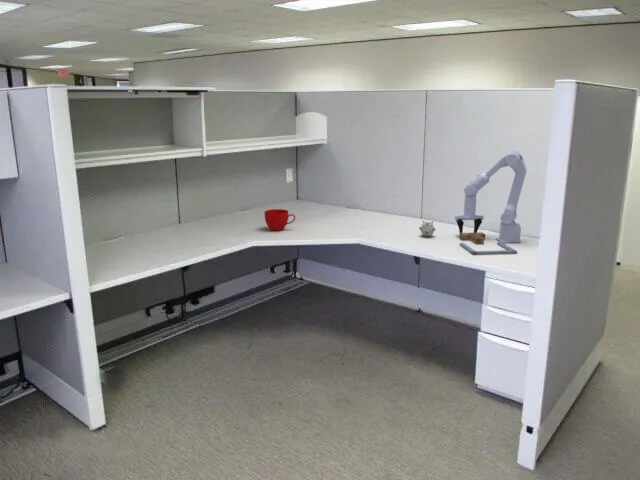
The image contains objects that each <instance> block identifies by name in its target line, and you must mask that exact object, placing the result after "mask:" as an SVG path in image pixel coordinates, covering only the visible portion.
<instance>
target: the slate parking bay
mask: <svg viewBox="0 0 640 480" xmlns="http://www.w3.org/2000/svg"><path fill="white" fill-rule="evenodd" d="M496 245H497V246H499V247H501V248H502V249H504V250H475V249H473V248H472V247H470V245H467V244H466V243H464V242H459V246H460V247H461V248H462V249H464V250H465V251H467V252H468V253H469V254H471V255H472V256H482V255H483V256H487V255H490V256H491V255H513V254H514V255H517V254H518V250H516V249H515V248H513V247H511V246H509V245H507V243H502V242H500V241H497V243H496Z"/></svg>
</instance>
